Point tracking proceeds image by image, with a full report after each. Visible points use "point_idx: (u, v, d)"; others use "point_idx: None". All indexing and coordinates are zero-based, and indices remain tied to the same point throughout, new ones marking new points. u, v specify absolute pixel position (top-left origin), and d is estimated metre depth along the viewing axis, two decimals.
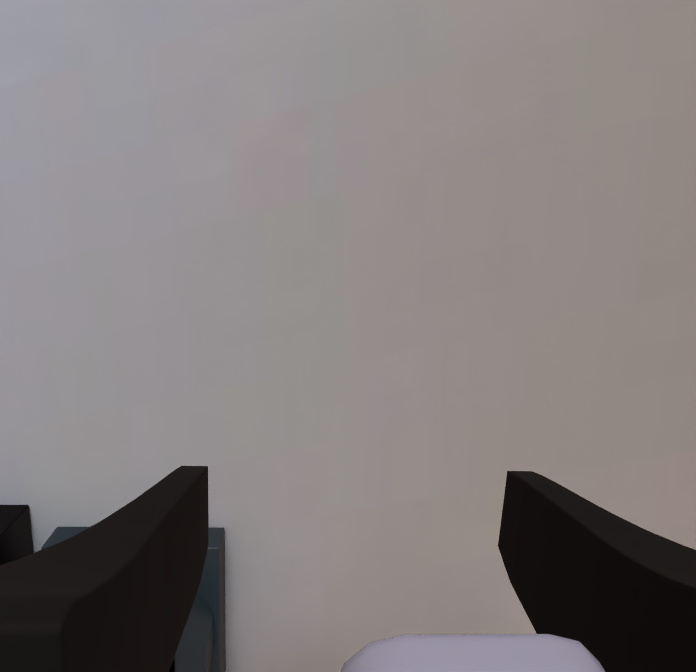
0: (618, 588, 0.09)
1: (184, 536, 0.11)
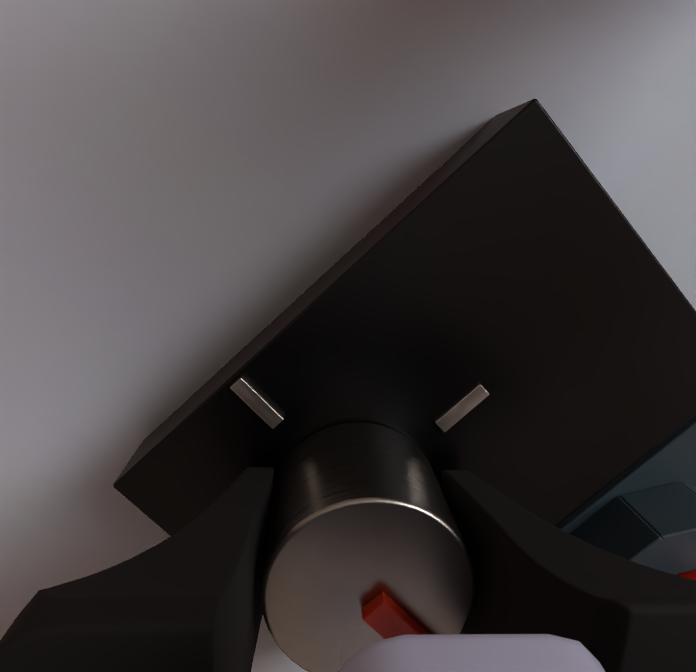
0: (522, 588, 0.09)
1: (261, 537, 0.11)
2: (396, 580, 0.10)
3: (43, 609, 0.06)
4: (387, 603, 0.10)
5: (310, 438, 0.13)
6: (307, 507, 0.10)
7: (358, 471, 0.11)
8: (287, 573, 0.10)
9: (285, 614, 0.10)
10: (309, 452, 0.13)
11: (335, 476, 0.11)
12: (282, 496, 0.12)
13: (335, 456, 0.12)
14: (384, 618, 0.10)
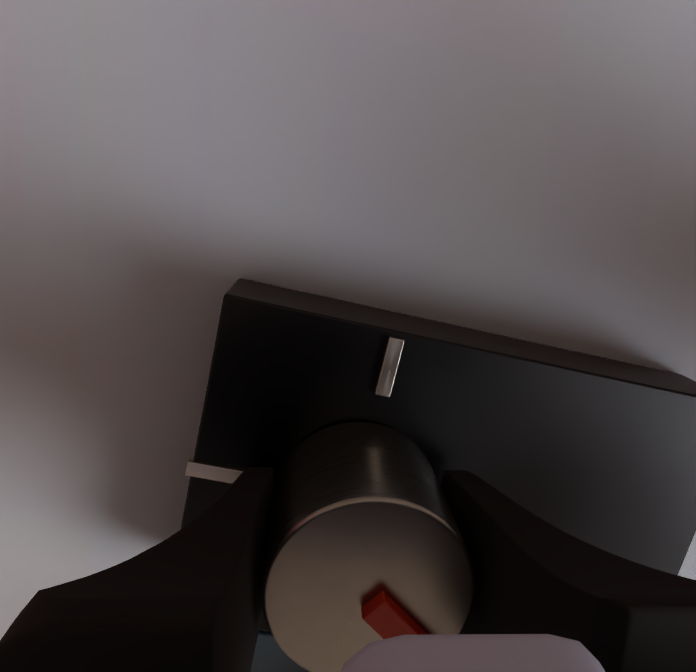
0: (522, 588, 0.09)
1: (261, 537, 0.11)
2: (397, 580, 0.10)
3: (42, 610, 0.06)
4: (387, 603, 0.10)
5: (311, 436, 0.13)
6: (309, 506, 0.10)
7: (360, 471, 0.11)
8: (288, 571, 0.10)
9: (285, 612, 0.10)
10: (311, 450, 0.13)
11: (337, 475, 0.11)
12: (283, 494, 0.12)
13: (337, 455, 0.12)
14: (384, 618, 0.10)
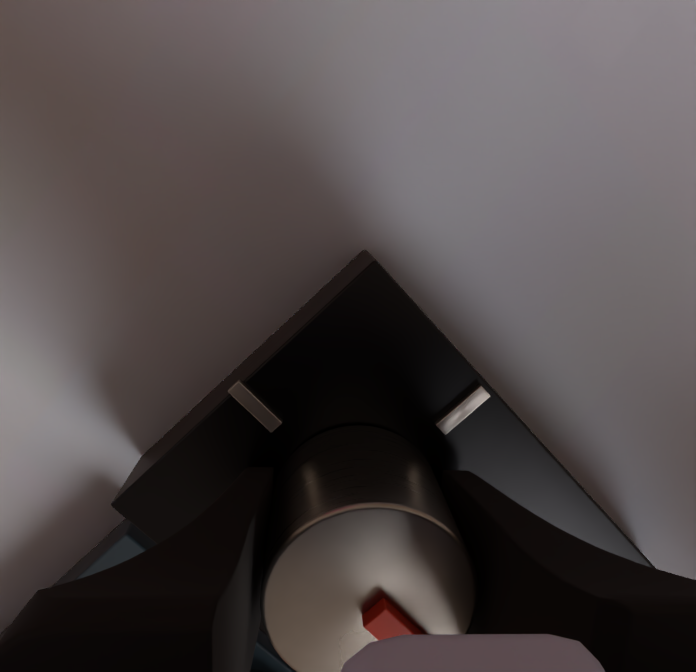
0: (522, 588, 0.09)
1: (261, 537, 0.11)
2: (398, 586, 0.10)
3: (42, 609, 0.06)
4: (387, 609, 0.10)
5: (309, 441, 0.13)
6: (307, 513, 0.10)
7: (359, 475, 0.11)
8: (286, 580, 0.10)
9: (284, 621, 0.10)
10: (309, 456, 0.12)
11: (335, 481, 0.11)
12: (281, 501, 0.12)
13: (335, 460, 0.12)
14: (385, 625, 0.10)
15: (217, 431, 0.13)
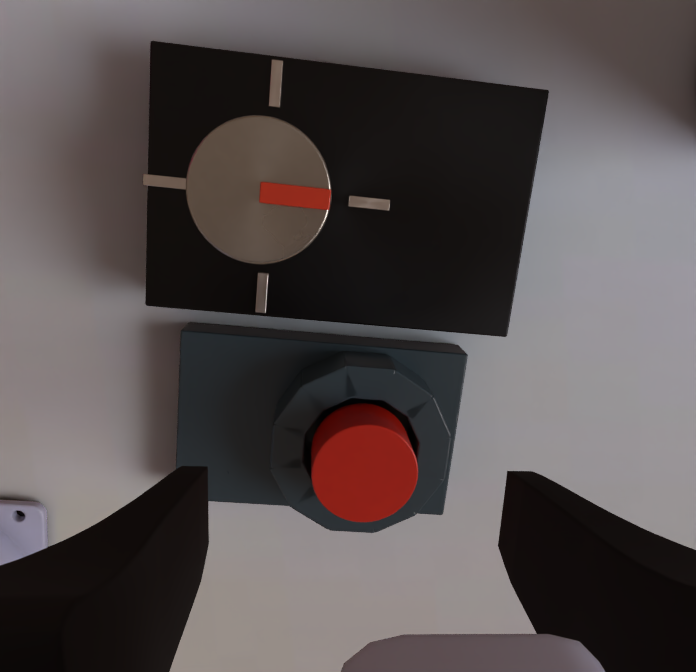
0: (618, 588, 0.09)
1: (184, 536, 0.11)
2: (263, 170, 0.16)
3: None
4: (263, 182, 0.15)
5: None
6: (188, 173, 0.16)
7: None
8: (205, 213, 0.16)
9: (225, 238, 0.16)
10: None
11: None
12: None
13: None
14: (269, 192, 0.15)
15: (160, 214, 0.19)
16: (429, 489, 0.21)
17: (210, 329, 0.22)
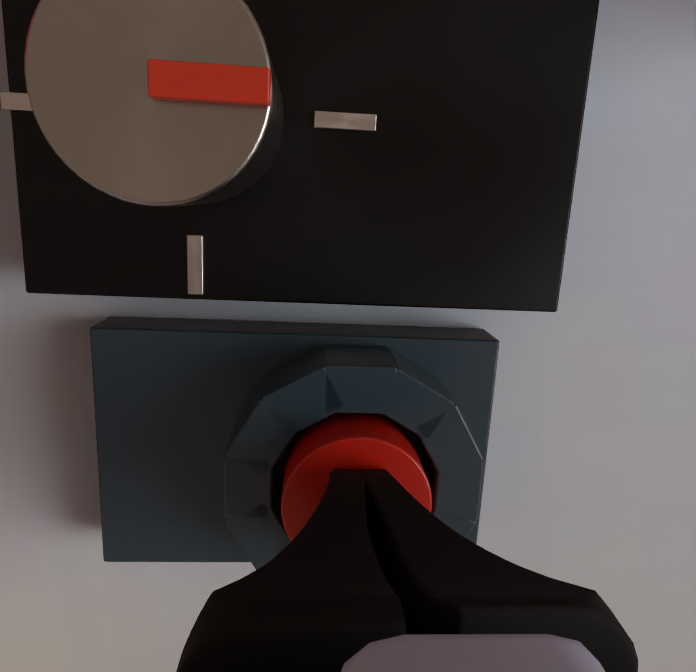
0: (399, 588, 0.09)
1: None
2: (153, 41, 0.09)
3: (234, 610, 0.06)
4: (151, 59, 0.09)
5: None
6: (32, 58, 0.09)
7: None
8: (61, 122, 0.09)
9: (101, 164, 0.10)
10: None
11: None
12: None
13: None
14: (164, 76, 0.09)
15: (33, 154, 0.13)
16: None
17: (135, 324, 0.16)
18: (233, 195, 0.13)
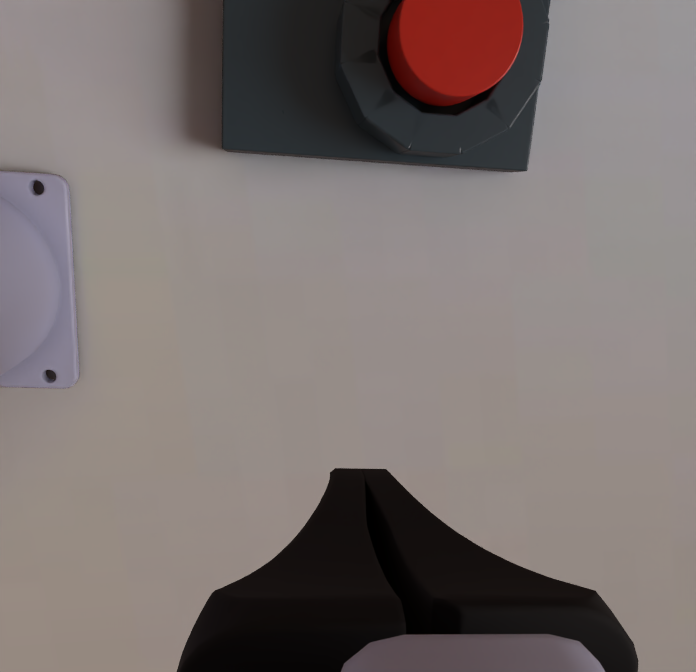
0: (399, 588, 0.09)
1: None
2: None
3: (236, 609, 0.06)
4: None
5: None
6: None
7: None
8: None
9: None
10: None
11: None
12: None
13: None
14: None
15: None
16: (524, 94, 0.18)
17: None
18: None
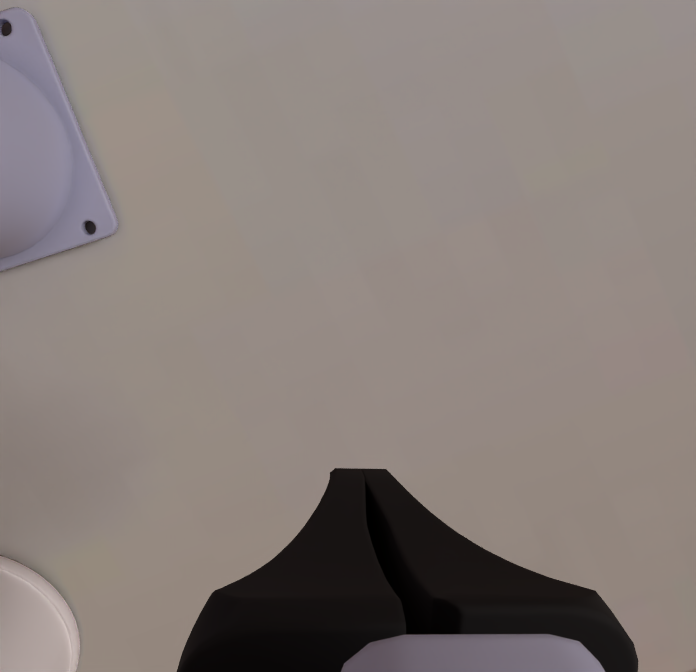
0: (399, 588, 0.09)
1: None
2: None
3: (235, 609, 0.06)
4: None
5: None
6: None
7: None
8: None
9: None
10: None
11: None
12: None
13: None
14: None
15: None
16: None
17: None
18: None
